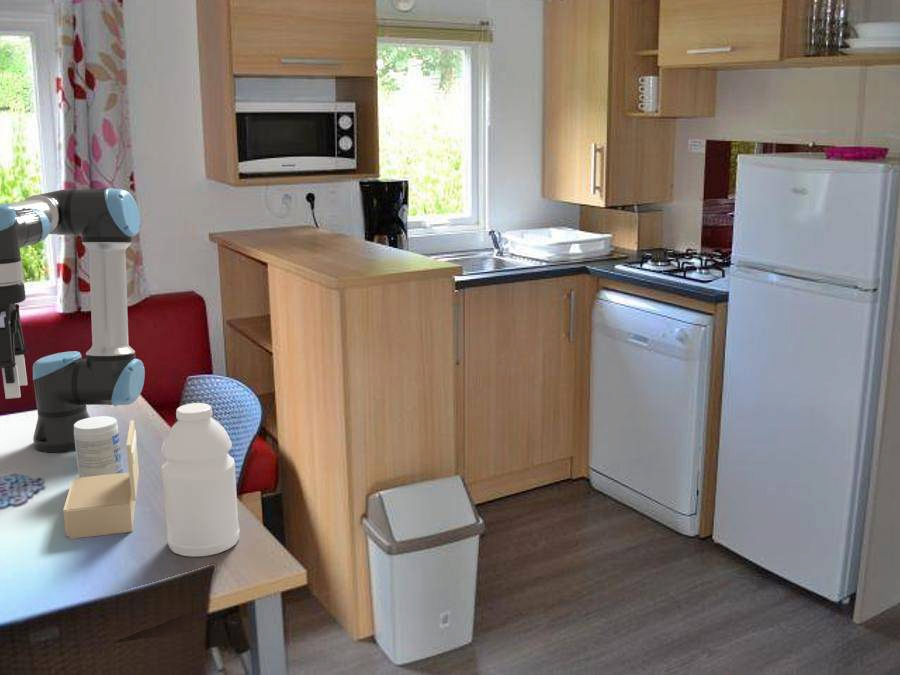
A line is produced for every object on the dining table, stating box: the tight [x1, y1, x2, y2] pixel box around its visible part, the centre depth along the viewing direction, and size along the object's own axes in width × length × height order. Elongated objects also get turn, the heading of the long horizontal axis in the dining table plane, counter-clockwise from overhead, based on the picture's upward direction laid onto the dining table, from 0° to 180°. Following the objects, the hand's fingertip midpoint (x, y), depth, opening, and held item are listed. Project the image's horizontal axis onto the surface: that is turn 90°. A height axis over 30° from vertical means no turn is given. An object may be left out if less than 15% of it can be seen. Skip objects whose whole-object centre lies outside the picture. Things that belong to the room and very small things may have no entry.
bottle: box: [161, 402, 241, 558], centre depth 184 cm, size 14×14×28 cm
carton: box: [62, 471, 137, 540], centre depth 198 cm, size 18×13×6 cm
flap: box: [125, 419, 140, 502], centre depth 198 cm, size 16×1×12 cm, turn 16°
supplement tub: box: [74, 415, 124, 478], centre depth 216 cm, size 10×10×15 cm
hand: (16, 391), depth 194 cm, fingers open, 8 cm apart
